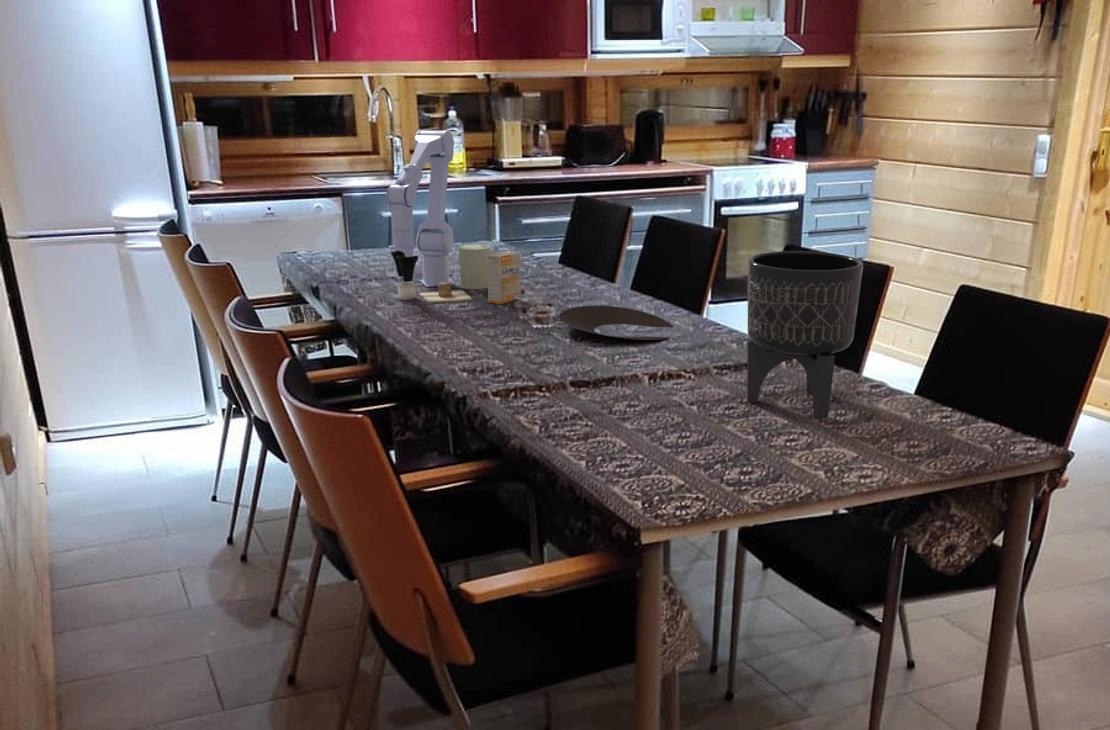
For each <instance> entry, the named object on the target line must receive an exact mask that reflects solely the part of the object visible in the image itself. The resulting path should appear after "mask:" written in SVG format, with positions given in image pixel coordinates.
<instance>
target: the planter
mask: <svg viewBox="0 0 1110 730" xmlns="http://www.w3.org/2000/svg"><path fill="white" fill-rule="evenodd" d="M863 270H864V263H863V262H862V261H861V260H860V259H858V258H856V257H853V256H848V255H845V254H837V253H832V252H831V253H830V252H823V251H810V250H809V251H807V250H806V251H803V250H800V251H799V250H792V251H791V250H788V251H787V250H786V251H785V250H784V251H782V250H781V251H770V252H762V253H758V254H754V255H751V256H750V257H749V258H748V260H747V335H748V339H747V341H746V342H747V351H746V352H747V357H746V359H747V360H746V361H747V362H746V363H747V366H746V367H747V377H746V378H747V380H746V382H747V383H746V384H747V389H746V390H747V391H746V395H747V396H746V397H747V401H746V402H747V404H748V403H749V404H750V403H751V404H753V403H754V404H758V400H759V396H760V391H761V387H762V386H763V383H764V380H765V379H766V377H767V375H768V374H770V372H771V371H772V370H773V369H775V367H777V366H779V365H780V364H783V363H784V362H787V361H791V360H792V361H793V360H796V361H797V362H799V363H800V364H801V366H802V367H803V369H804V371H805V372H806V373H805V374H806V393H807V394H811V395H812V406H813V407H812V410H813V411H812V416H814V417H816V418H818V419H825V418H828V417H829V415H830V405H831V404H830V403H831V394H832V385H833V377H834V370H835V369H834V368H835V358H836V355H835V354H834V353H838V352H842V351H844V350H846V349H847V348H848V347H850V346H851V344H852V342H853V340H854V336H855V329H856V323H857V314H858V309H859V308H858V306H859V299H860V294H861V293H860V292H861V284H862V278H863Z"/></svg>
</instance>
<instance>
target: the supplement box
mask: <svg viewBox="0 0 1110 730" xmlns="http://www.w3.org/2000/svg"><path fill="white" fill-rule="evenodd" d="M487 269H488V288H487V300H488V301H487V302H488V303H490V304H497V305H503V304H507V303H509V302H513V301H515V300H514V299H515V298H517V297H518V296H520V295H521V294H520V252H519V251H509V250H507V251H506V250H505V251H501V252H497V253H490V255H487Z"/></svg>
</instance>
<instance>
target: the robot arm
mask: <svg viewBox="0 0 1110 730" xmlns="http://www.w3.org/2000/svg"><path fill="white" fill-rule="evenodd" d="M453 136H454V135H453V134H452V132H451V130H449V129H446V130H423V129H418V130H417V132H416V134H415V136H414V148H415V149H414V152H413V154H412V155H411V160H410V162H409V163H408V164H405V165H404V166H403V167H402V168H401V171H400V173H399V174H398V177H397V179H396V180H395V183H394V184H391V185H389V186H388V188H387V189H386V193H385V194H386V195H385V201H386V203H387V205H388V211H389V213H390V214H391V234H392V245H388V249H389V250H391V251H390V254H391V257H392V258H393V260H394V263H395V268H396V272H397V275H398V277H399V278H401V277H402V280H403V282H413V279H414V273H415V272H414V271H415V267H416V264H417V261H418V260H419V256H418V255H414V253H413V251H414V250H415V248H417V250H418V251H419V252H420V255H422V260H421V264H422V265H421V266H422V267H421V268H422V279H419V282H420V283H421V284H423V286H425V287H426V288H431V287H432V288H433V287H438V283H441V282H450V283H451V286H453V285H454V283H453V282H451V280H450V274H449V273H450V271H449V270H450V269H449V254H450V253H451V252H452V251H453V249H454V245H455V240H454V235H453V234H454V230H453V227H451V225H450V224H448V223H447V222H446V221H445V217H446V204H447V203H446V202H447V193H448V192H447V189H448V179H449V178H448V176H449V165H450V163H451V162H452V161H453V160H454V159H453V158H454V149H455V139H454V137H453ZM427 162H428V163H429V164H430V175H429V176H430V177H429V190H428V204H427V212H426V213H427V214H426V220H424V221H423V222H422V223H421V224H419V226H418V230H417V231H418V232H417V235H416V237H415V235H414V232H415V231H414V215H413V206H414V205H415V203H416V202H417V201H416V200H417V193H418V190H417V188H418V187H419V185H420V183H421V181H422V178H423V172H422V170H423V169H424V167H425V165H426V163H427Z"/></svg>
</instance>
